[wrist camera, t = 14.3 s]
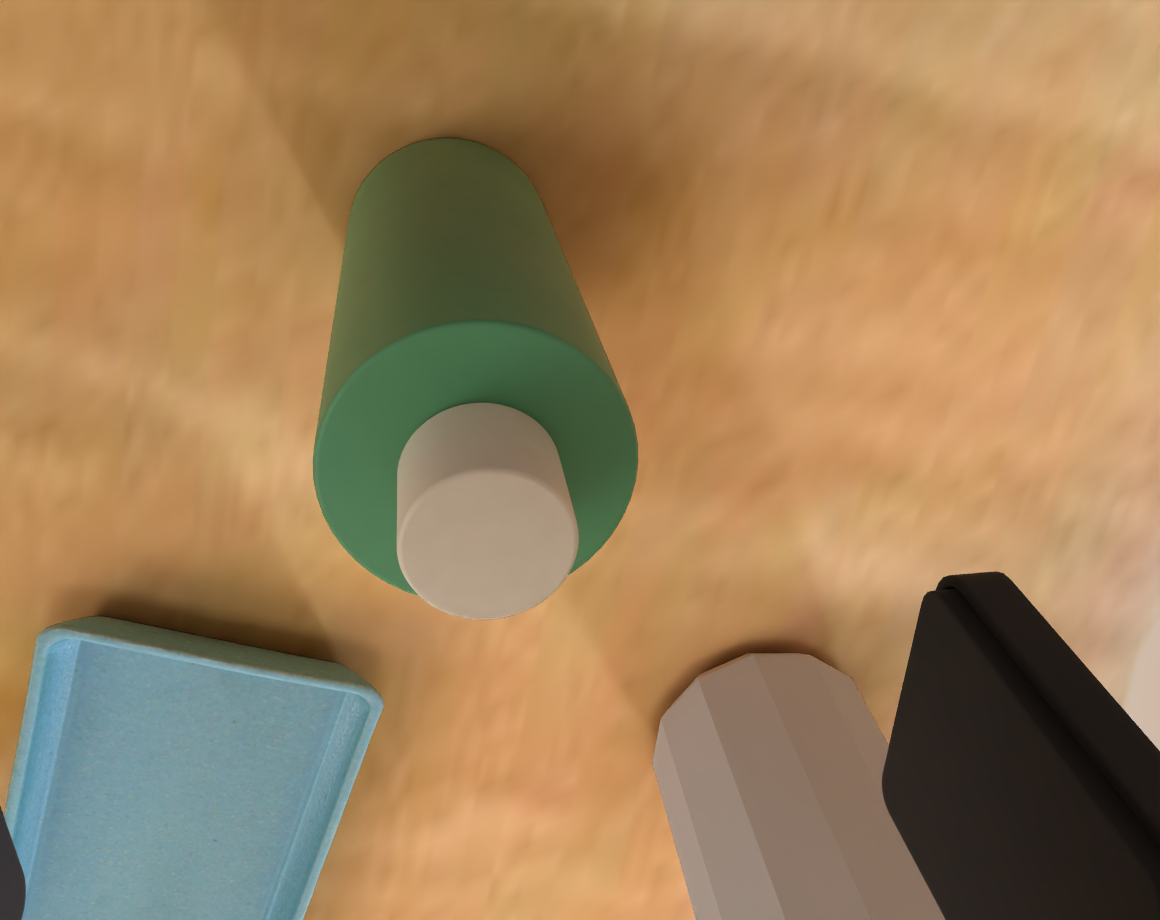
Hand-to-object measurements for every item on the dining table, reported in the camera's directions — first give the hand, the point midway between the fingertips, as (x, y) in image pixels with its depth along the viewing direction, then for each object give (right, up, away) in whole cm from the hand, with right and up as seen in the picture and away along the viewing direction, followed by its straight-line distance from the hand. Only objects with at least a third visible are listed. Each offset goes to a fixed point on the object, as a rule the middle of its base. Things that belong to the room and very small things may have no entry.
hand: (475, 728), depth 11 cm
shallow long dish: (-14, -13, +25) cm, 31 cm away
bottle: (-2, +8, +15) cm, 17 cm away
